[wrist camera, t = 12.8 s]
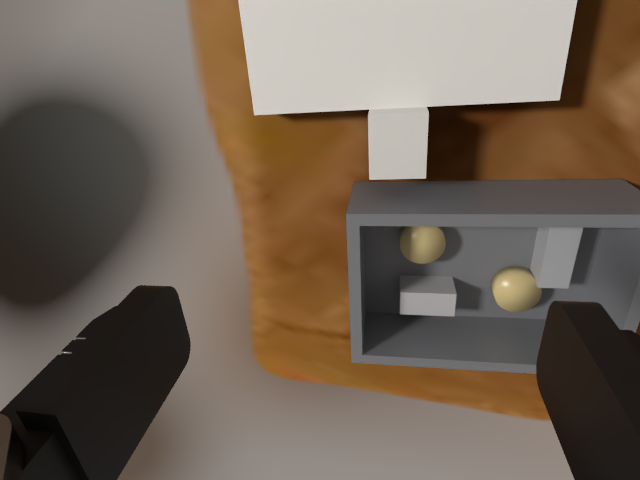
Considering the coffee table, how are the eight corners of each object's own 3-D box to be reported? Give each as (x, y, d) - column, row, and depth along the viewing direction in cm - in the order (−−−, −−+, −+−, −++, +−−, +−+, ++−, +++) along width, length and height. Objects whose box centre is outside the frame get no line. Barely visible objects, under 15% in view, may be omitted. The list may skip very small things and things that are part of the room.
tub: (353, 181, 31) (346, 214, 25) (622, 178, 28) (677, 214, 22) (357, 313, 36) (351, 362, 31) (582, 322, 33) (619, 379, 28)
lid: (233, -119, 24) (206, -145, 20) (591, -172, 20) (632, -214, 17) (270, 164, 31) (255, 181, 27) (536, 157, 28) (557, 175, 24)
